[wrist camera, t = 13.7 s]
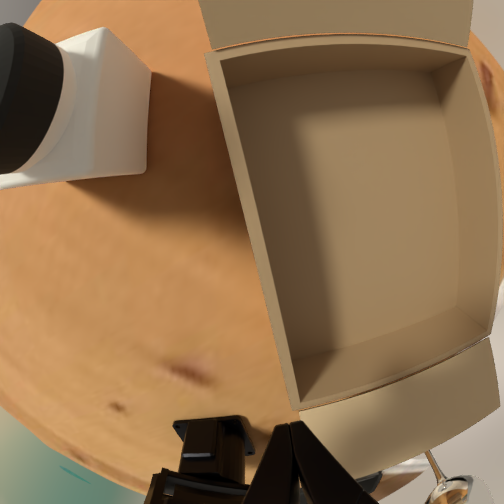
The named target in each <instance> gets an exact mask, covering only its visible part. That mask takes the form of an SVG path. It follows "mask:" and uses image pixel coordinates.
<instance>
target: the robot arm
mask: <svg viewBox="0 0 504 504" xmlns="http://www.w3.org/2000/svg"><path fill="white" fill-rule="evenodd" d="M173 428H174V429H175V431H176V432H177V434H178V435H179V437H180V438H181V440H182V441H183V442H184V443H183V448H182V452H181V460H180V465H179V470H178V472H174V471H170V470H169V469H166V468H162V471H161V473H158V474H153V477H152V480H151V484H150V488H149V491H148V493H147V496H146V499H145V501H144V504H300V483H301V486H302V489H303V492H304V495H305V498H306V501H307V503H308V504H379V503H378V502H377V501H376V500H375V499H373V498H372V497H371V496H370V495H369V494H368V492H367V491H364V489H363V488H362V486H361V485H360V484H359V483H358V482H357V481H356V480H355V479H354V478H353V477H352V476H351V475H350V474H349V473H348V472H347V471H346V469H345V468H344V467H343V466H342V465H341V464H340V463H339V462H338V461H337V460H336V458H335V457H334V456H333V455H332V454H331V453H330V452H329V451H328V449H327V448H326V447H325V446H324V445H323V444H322V443H321V441H320V440H319V439H318V438H317V437H316V436H315V434H314V433H313V432H312V431H311V430H310V429H309V427H308V426H307V425H306V424H305V423H304V422H303V421H302V420H300V421H295V422H291V423H290V424H288V423H285V424H279V425H276V426H275V427H274V429H273V432H272V434H271V437H270V440H269V442H268V445H267V447H266V449H265V452H264V454H263V457H262V459H261V462H260V464H259V466H258V469H257V471H256V473H255V475H254V478H253V480H252V482H251V484H250V485H248V484H245V456H249V455H254V454H255V448H254V446H253V444H252V442H251V440H250V438H249V435H248V433H247V431H246V429H245V427H244V424H243V422H242V420H241V418H240V417H239V416H228V417H219V418H209V419H197V420H181V421H174V422H173ZM298 474H299V475H298ZM299 479H300V482H299ZM166 494H169V495H166ZM170 495H173V496H170Z"/></svg>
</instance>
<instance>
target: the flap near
mask: <svg viewBox="0 0 504 504" xmlns="http://www.w3.org/2000/svg"><path fill="white" fill-rule="evenodd" d="M198 1H199V4H200V8H201V11H202V15H203V19H204V22H205V26H206V29H207V33H208V37H209V40H210V44H211V47H212V49H216V48H220V47H225V46H229V45H234V44H239V43H244V42H249V41H255V40H261V39H267V38H275V37H282V36H291V35H302V34H316V33H378V34H392V35H402V36H410V37H418V38H424V39H431V40H436V41H442V42H447V43H451V44H456V45H460V46H464V47H467V45H468V40H469V33H470V26H471V18H472V9H473V0H198Z"/></svg>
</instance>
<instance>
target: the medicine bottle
mask: <svg viewBox="0 0 504 504" xmlns="http://www.w3.org/2000/svg"><path fill="white" fill-rule="evenodd" d="M151 75H152V73H151V70H150V69H149V68H148V67H147V66H146V65H145V64H144V63H143V62H142V61H141V60H140V59H139V58H138V57H137V56H136V55H135V54H134V53H133V52H132V51H131V50H130V49H129V48H128V47H127V46H126V45H125V44H124V43H123V42H122V41H121V40H120V39H118V38H117V37H116V36H115V35H114V34H113V33H112V32H111V31H110V30H109V29H108V28H106V27H101V28H98V29H94V30H91V31H88V32H85V33H82V34H79V35H77V36H74V37H71V38H69V39H66V40H64V41H61V42H59V43H56V44H54V43H52V42H50V41H48V40H46V39H45V38H43V37H41V36H39V35H37V34H35V33H33V32H31V31H30V30H28V29H26V28H24V27H22V26H19V25H17V24H15V23H6V24H3V25H1V26H0V190H3V189H9V188H16V187H22V186H30V185H37V184H45V183H54V182H63V181H71V180H79V179H88V178H97V177H108V176H119V175H133V174H142V173H144V172H145V171H146V168H147V129H148V111H149V97H150V85H151Z"/></svg>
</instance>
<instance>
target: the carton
mask: <svg viewBox="0 0 504 504" xmlns="http://www.w3.org/2000/svg"><path fill="white" fill-rule="evenodd" d="M204 56H205V60H206V64H207V68H208V72H209V76H210V80H211V84H212V88H213V92H214V96H215V100H216V104H217V108H218V112H219V116H220V120H221V124H222V128H223V132H224V136H225V140H226V144H227V148H228V152H229V156H230V160H231V165H232V169H233V173H234V177H235V181H236V185H237V189H238V193H239V197H240V201H241V205H242V209H243V213H244V217H245V221H246V225H247V229H248V233H249V237H250V241H251V246H252V250H253V254H254V258H255V262H256V266H257V270H258V274H259V278H260V282H261V286H262V290H263V294H264V298H265V302H266V306H267V311H268V315H269V319H270V323H271V327H272V331H273V335H274V339H275V343H276V347H277V351H278V355H279V359H280V363H281V368H282V372H283V376H284V380H285V384H286V388H287V392H288V396H289V400H290V404H291V408H292V411H294V410H299V409H303V408H308V407H312V406H316V405H320V404H324V403H327V402H331V401H335V400H338V399H342V398H345V397H349V396H352V395H355V394H358V393H361V392H364V391H368V390H370V389H373V388H376V387H379V386H382V385H385V384H387V383H390V382H393V381H395V380H398V379H401V378H403V377H406V376H408V375H410V374H413V373H415V372H418V371H420V370H422V369H424V368H427V367H429V366H431V365H433V364H436V363H438V362H440V361H442V360H444V359H446V358H448V357H450V356H452V355H454V354H456V353H458V352H460V351H462V350H464V349H465V348H467V347H469V346H471V345H473V344H475V343H476V342H478V341H480V340H482V339H483V338H485V337H487V336H488V335H490V334H491V330H492V326H493V321H494V315H495V310H496V304H497V297H498V290H499V282H500V273H501V261H502V243H503V208H502V189H501V178H500V168H499V161H498V153H497V147H496V141H495V136H494V131H493V126H492V121H491V117H490V112H489V108H488V104H487V101H486V97H485V94H484V90H483V87H482V84H481V80H480V77H479V74H478V71H477V68H476V66H475V63H474V60H473V58H472V55H471V52H470V50H469V49H467V48H463V47H459V46H454V45H450V44H445V43H440V42H434V41H428V40H422V39H415V38H406V37H397V36H385V35H366V34H331V35H311V36H299V37H289V38H280V39H273V40H266V41H260V42H254V43H248V44H243V45H238V46H233V47H228V48H224V49H220V50H216V51H212V52H208V53H204Z"/></svg>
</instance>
